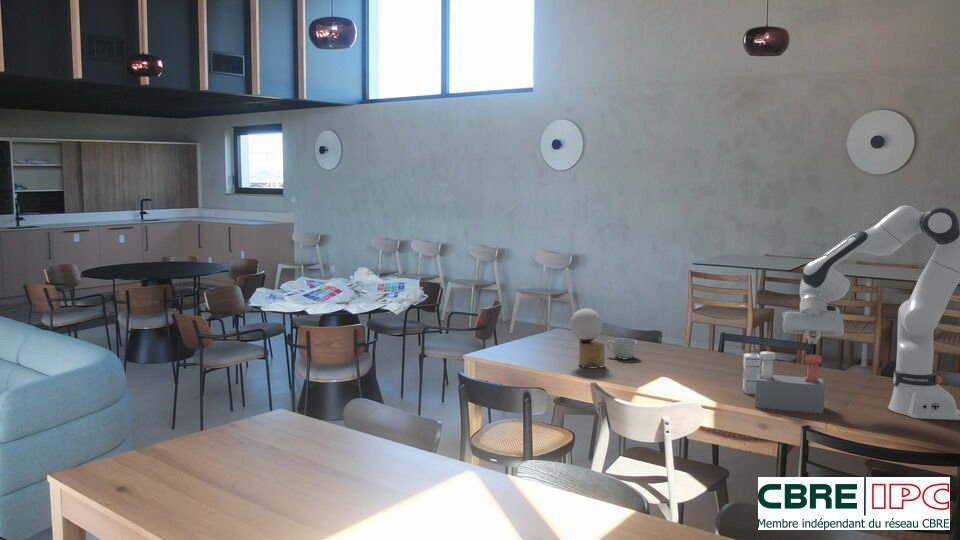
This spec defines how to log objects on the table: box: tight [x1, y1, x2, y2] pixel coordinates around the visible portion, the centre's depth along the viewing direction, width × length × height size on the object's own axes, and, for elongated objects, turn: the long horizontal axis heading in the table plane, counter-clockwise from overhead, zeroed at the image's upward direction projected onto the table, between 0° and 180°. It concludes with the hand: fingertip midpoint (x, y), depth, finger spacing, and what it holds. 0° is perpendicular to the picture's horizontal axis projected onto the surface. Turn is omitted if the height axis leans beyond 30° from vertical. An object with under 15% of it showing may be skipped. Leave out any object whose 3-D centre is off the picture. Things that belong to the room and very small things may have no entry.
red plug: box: [804, 354, 823, 383], centre depth 267 cm, size 5×5×14 cm
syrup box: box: [742, 352, 762, 395], centre depth 289 cm, size 6×6×14 cm
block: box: [754, 373, 826, 415], centre depth 271 cm, size 22×10×10 cm, turn 70°
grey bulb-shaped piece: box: [759, 350, 777, 379], centre depth 272 cm, size 5×5×14 cm
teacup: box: [605, 337, 638, 359], centre depth 348 cm, size 14×11×8 cm
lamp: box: [569, 308, 606, 368], centre depth 332 cm, size 15×14×25 cm
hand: (812, 343), depth 270 cm, fingers closed
